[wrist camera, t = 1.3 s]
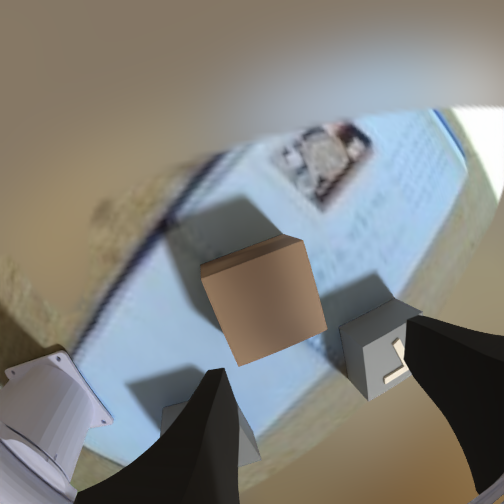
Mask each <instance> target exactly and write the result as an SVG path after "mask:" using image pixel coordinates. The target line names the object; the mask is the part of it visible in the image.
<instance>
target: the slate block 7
mask: <svg viewBox="0 0 504 504" xmlns="http://www.w3.org/2000/svg"><path fill="white" fill-rule="evenodd" d="M417 315H422V316H423V312H422V311H420V310H418V309H416V308H414V307H412V306H410V305H408V304H406V303H404V302H402V301H400V300H398V299H396V298H394V299H392V300H391V301H389V302H387V303H385V304H383V305H381V306H380V307H378V308H376V309H374V310H372V311H370V312H368V313H366V314H364V315H362V316H360V317H358V318H356V319H354V320H352V321H350V322H348V323H346V324H344V325H342V326H340V327H339V330H340V335H341V341H342V346H343V351H344V357H345V362H346V368H347V374H348V379H349V380H350V381H351V383H352V384H353V385H354V386H355V387H356V388H357V389H358V390H359V391H360V393H361V394H362V395H363V396H364V397H365V398H366V399H367V400H368V401H370V400H372V399H374V398H376V397H377V396H379V395H381V394H382V393H384V392H386V391H387V390H389V389H391V388H392V387H394V386H395V385H397V384H399V383H400V382H401V381H403V380H405V379H406V378H408V377H409V376H411V375H412V373H411V372H410V370H409V369H408V367H407V365H406V363H405V362H404V360H403V359H404V349H405V337H406V321H407V319H409V318H412V317H414V316H417Z"/></svg>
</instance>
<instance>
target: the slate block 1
mask: <svg viewBox="0 0 504 504" xmlns="http://www.w3.org/2000/svg"><path fill="white" fill-rule="evenodd" d="M187 403H188V401H186V402H183V403H179V404H176V405H172V406H168V407H164V408H163V413H162V422H161V433H160V437H161V436H162V435H163V434H164V433H165V431H166V430H167V429H168V428H169V427H170V426H171V424H172V423H173V422H174V420H175V419H176V418H177V417H178V415H179V414H180V413H181V411H182V410H183V409H184V407H185V406H186V404H187ZM236 403H237V402H236ZM237 405H238V404H237ZM238 415H239V426H240V432H239V457H238V467H241V466H244V465H248V464H251V463H254V462H257V461H260V460H262V459H261V456H260V453H259V450H258V447H257V443H256V440H255V437H254V434H253V431H252V429H251V427H250V426H249V424H248V422H247V420H246V418H245V417H244V415H243V413H242V411H241V409H240V408H239V406H238Z"/></svg>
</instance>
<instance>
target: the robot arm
mask: <svg viewBox="0 0 504 504" xmlns="http://www.w3.org/2000/svg"><path fill="white" fill-rule="evenodd" d="M58 357H60V359H59V358H58ZM403 360H404V362H405V363H406V365H407V367H408V369H409V370H410V372H411V373H412V375H413V377H414V378H415V379H416V381H417V382H418V383H419V384H420V386H421V387H422V388H423V389H424V391H425V392H426V393H427V394H428V396H429V397H430V398H431V399H432V400H433V402H434V403H435V404H436V405H437V407H438V408H439V409H440V410H441V412H442V413H443V415H444V416H445V417H446V419H447V420H448V422H449V424H450V426H451V427H452V429H453V431H454V433H455V435H456V437H457V439H458V441H459V443H460V445H461V447H462V449H463V451H464V454H465V456H466V459H467V462H468V464H469V467H470V470H471V473H472V476H473V480H474V483H475V488H476V491H477V492H478V494H479V496H477V497H476V498H475V499H473V500H472V501H471V502H469V503H468V504H493V503H494V502H495V501H496V500H497V499H499V498H500V497H501V496H502V495H503V494H504V336H501V335H493V334H488V333H483V332H479V331H474V330H471V329H467V328H463V327H460V326H456V325H453V324H450V323H446V322H443V321H440V320H437V319H433V318H430V317H426V316H422V315H417V316H414V317H412V318H409V319H407V321H406V337H405V349H404V359H403ZM5 374H6V376H7V377H8V379H9V381H8V382H7V383H6V385H5V386H4V387H3V388H2V389H1V390H0V504H240V503H239V491H238V457H239V432H240V426H239V415H238V405H237V403H236V400H235V397H234V394H233V391H232V389H231V386H230V383H229V380H228V377H227V374H226V371H225V368H219V369H213V370H208V371H207V372H206V374H205V376H204V377H203V379H202V381H201V382H200V384H199V385H198V387H197V389H196V390H195V392H194V394H193V395H192V397H191V398H190V400H189V401H188V403H187V404H186V406H185V407H184V409H183V410H182V411H181V413H180V414H179V415H178V417H177V418H176V419H175V420H174V422H173V423H172V424H171V426H170V427H169V428H168V429H167V430H166V431H165V433H164V434H163V435H162V436H161V437H160V438H159V439H158V440H157V441H156V442H155V443H154V444H153V445H152V446H151V447H150V448H149V449H148V450H146V451H145V452H144V453H143V454H142V455H140V456H139V457H138V458H137V459H136V460H134V461H133V462H132V463H131V464H129V465H128V466H126V467H125V468H123V469H122V470H121V471H119V472H117V473H116V474H114V475H113V476H111V477H109V478H107V479H106V480H104V481H102V482H100V483H98V484H96V485H94V486H92V487H89V488H87V489H85V490H83V491H80V492H78V493H77V490H76V489H75V488H73V487H72V486H71V485H70V481H71V478H72V475H73V472H74V469H75V466H76V463H77V460H78V457H79V454H80V451H81V449H82V446H83V443H84V440H85V438H86V435H87V432H88V430H89V428H95V427H101V426H106V425H111V424H113V422H114V419H113V418H112V416H111V415H110V414H109V413H108V411H107V410H106V409H105V408H104V406H103V405H102V404H101V402H100V401H99V400H98V398H97V397H96V396H95V394H94V393H93V392H92V390H91V389H90V387H89V386H88V385H87V383H86V382H85V380H84V379H83V377H82V376H81V374H80V373H79V371H78V370H77V368H76V367H75V365H74V364H73V362H72V360H71V359H70V357H69V355H68V354H67V353H66V352H65V351H63V350H60V351H58V352H55V353H52V354H49V355H46V356H43V357H40V358H37V359H34V360H31V361H28V362H25V363H22V364H19V365H16V366H13V367H10V368H7V369H6V370H5ZM103 420H104V421H103ZM76 493H77V496H76ZM75 497H76V498H75ZM501 504H504V501H503V502H502V503H501Z"/></svg>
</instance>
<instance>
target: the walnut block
mask: <svg viewBox="0 0 504 504" xmlns="http://www.w3.org/2000/svg"><path fill="white" fill-rule="evenodd" d="M200 268H201V281H202V283H203V286H204V288H205V291H206V293H207V295H208V298H209V300H210V303H211V305H212V307H213V310H214V312H215V315H216V317H217V319H218V322H219V324H220V326H221V328H222V331H223V333H224V335H225V338H226V340H227V342H228V344H229V347H230V349H231V351H232V353H233V355H234V358H235V360H236V362H237V364H238V366H239V367H240V366H242V365H245V364H248V363H250V362H253V361H256V360H258V359H261V358H263V357H266V356H268V355H271V354H273V353H276V352H278V351H281V350H283V349H285V348H288V347H290V346H292V345H295V344H297V343H299V342H301V341H304V340H306V339H308V338H310V337H313V336H315V335H317V334H319V333H321V332H323V331H325V330H328V329H327V325H326V321H325V317H324V313H323V310H322V306H321V302H320V298H319V294H318V291H317V287H316V283H315V280H314V276H313V273H312V269H311V266H310V262H309V259H308V255H307V252H306V248H305V245H304V242H303V240H301V239H298V238H294V237H291V236H288V235H285V234H282V235H279V236H276V237H274V238H271V239H268V240H266V241H263V242H260V243H257V244H255V245H252V246H249V247H247V248H244V249H241V250H239V251H236V252H233V253H231V254H228V255H225V256H223V257H220V258H217V259H215V260H212V261H209V262H207V263H204V264H201V265H200Z"/></svg>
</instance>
